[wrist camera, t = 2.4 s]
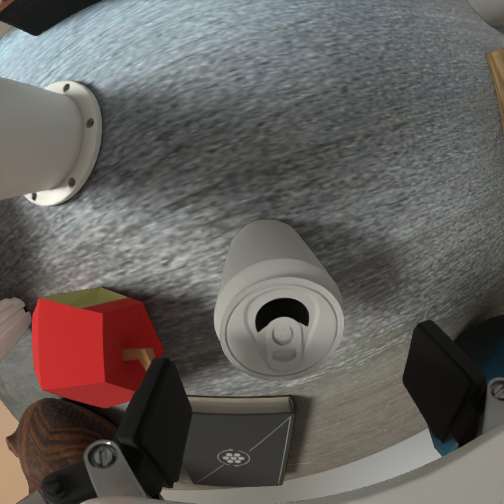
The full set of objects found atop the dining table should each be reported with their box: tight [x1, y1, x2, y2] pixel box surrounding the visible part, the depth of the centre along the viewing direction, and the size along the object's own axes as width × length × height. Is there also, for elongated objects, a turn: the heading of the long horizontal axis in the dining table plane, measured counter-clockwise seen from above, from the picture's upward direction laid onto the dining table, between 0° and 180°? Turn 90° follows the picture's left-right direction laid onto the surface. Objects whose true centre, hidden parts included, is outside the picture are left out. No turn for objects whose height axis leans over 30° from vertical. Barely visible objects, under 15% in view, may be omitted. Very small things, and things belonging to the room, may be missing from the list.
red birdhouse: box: [32, 287, 164, 408], centre depth 19 cm, size 12×12×15 cm
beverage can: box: [214, 219, 344, 381], centre depth 17 cm, size 6×6×12 cm
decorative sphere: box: [428, 315, 504, 457], centre depth 18 cm, size 20×20×20 cm
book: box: [182, 395, 296, 487], centre depth 29 cm, size 22×15×3 cm
